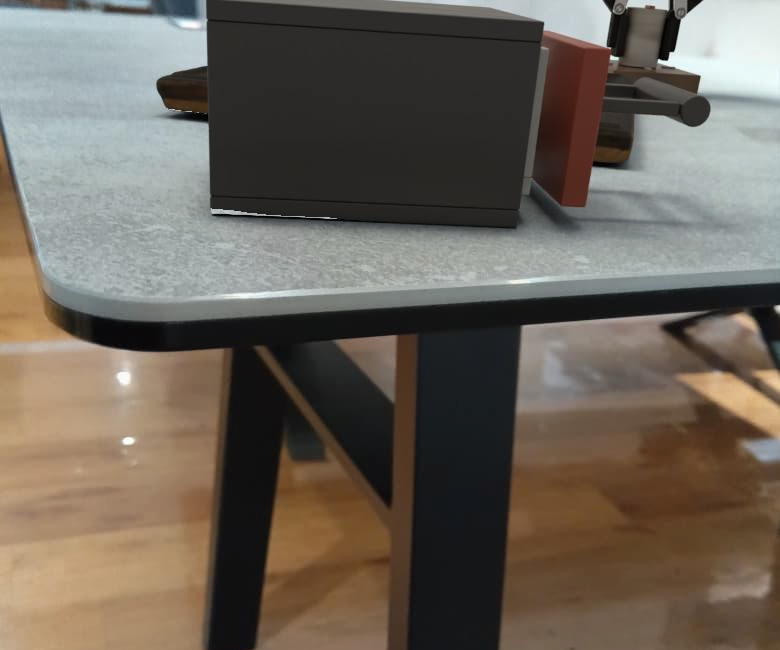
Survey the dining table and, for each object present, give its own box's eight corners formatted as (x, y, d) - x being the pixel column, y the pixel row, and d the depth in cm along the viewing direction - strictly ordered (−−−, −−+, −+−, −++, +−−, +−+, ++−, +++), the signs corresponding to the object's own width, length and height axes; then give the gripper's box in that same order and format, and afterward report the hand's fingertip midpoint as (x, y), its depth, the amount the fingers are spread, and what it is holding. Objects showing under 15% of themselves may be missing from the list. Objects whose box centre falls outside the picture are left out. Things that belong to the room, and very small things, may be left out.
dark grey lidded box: (472, 172, 50) (490, 7, 46) (517, 228, 40) (545, 21, 36) (229, 160, 49) (227, -12, 45) (210, 214, 38) (205, -3, 34)
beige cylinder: (614, 62, 94) (624, 2, 91) (651, 65, 94) (662, 5, 92) (622, 66, 90) (632, 4, 88) (661, 69, 90) (672, 7, 88)
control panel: (653, 86, 99) (657, 61, 98) (695, 101, 88) (701, 73, 87) (575, 81, 98) (579, 56, 97) (609, 96, 87) (613, 68, 86)
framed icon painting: (696, 175, 53) (706, 126, 52) (135, 124, 56) (132, 77, 55) (623, 96, 88) (628, 66, 86) (276, 67, 90) (276, 37, 89)
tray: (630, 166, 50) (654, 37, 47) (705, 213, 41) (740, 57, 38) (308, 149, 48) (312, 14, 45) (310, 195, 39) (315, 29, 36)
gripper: (593, -159, 81) (562, 55, 89) (777, -145, 80) (730, 67, 88) (580, -149, 87) (553, 48, 95) (750, -136, 87) (708, 60, 95)
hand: (638, 55), depth 92 cm, fingers closed on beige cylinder, 4 cm apart
